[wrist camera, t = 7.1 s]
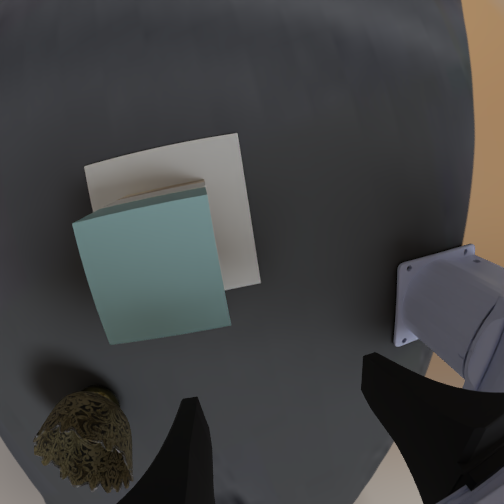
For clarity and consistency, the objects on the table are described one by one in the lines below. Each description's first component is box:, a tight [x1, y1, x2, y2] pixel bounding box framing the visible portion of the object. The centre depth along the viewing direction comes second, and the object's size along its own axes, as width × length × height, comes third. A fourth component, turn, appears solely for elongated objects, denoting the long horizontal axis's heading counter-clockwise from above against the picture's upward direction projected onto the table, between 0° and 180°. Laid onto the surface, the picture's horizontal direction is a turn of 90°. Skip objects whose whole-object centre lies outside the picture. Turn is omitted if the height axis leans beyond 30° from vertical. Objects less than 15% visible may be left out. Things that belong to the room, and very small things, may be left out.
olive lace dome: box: [33, 385, 133, 493], centre depth 19 cm, size 8×7×8 cm
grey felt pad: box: [84, 133, 261, 290], centre depth 20 cm, size 10×10×1 cm
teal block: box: [72, 187, 231, 345], centre depth 13 cm, size 5×5×4 cm
